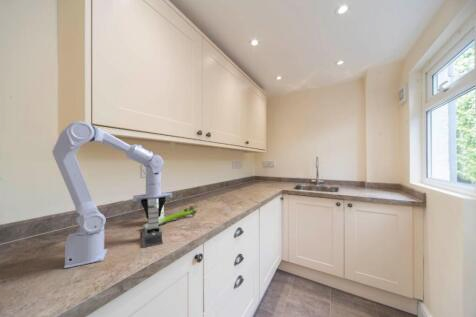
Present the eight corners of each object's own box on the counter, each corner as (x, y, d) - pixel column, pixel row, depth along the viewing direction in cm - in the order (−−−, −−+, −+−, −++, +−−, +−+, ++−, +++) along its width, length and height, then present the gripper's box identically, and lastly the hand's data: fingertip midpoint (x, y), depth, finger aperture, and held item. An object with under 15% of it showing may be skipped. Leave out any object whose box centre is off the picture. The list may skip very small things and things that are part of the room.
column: (148, 229, 72) (148, 210, 72) (148, 226, 76) (148, 208, 76) (158, 227, 74) (158, 209, 74) (157, 225, 77) (158, 207, 77)
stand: (142, 248, 67) (142, 236, 67) (142, 232, 82) (142, 222, 82) (162, 243, 70) (162, 233, 70) (159, 229, 85) (159, 220, 85)
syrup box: (164, 221, 96) (164, 193, 96) (156, 225, 90) (156, 195, 90) (155, 220, 97) (155, 193, 97) (147, 224, 91) (146, 195, 92)
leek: (139, 231, 86) (191, 212, 109) (147, 238, 82) (199, 216, 105) (140, 219, 85) (192, 202, 108) (147, 226, 81) (200, 207, 104)
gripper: (170, 181, 82) (170, 212, 82) (133, 183, 75) (133, 216, 75) (173, 183, 76) (172, 216, 75) (132, 185, 69) (132, 221, 69)
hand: (153, 216), depth 75 cm, fingers closed on column, 4 cm apart
